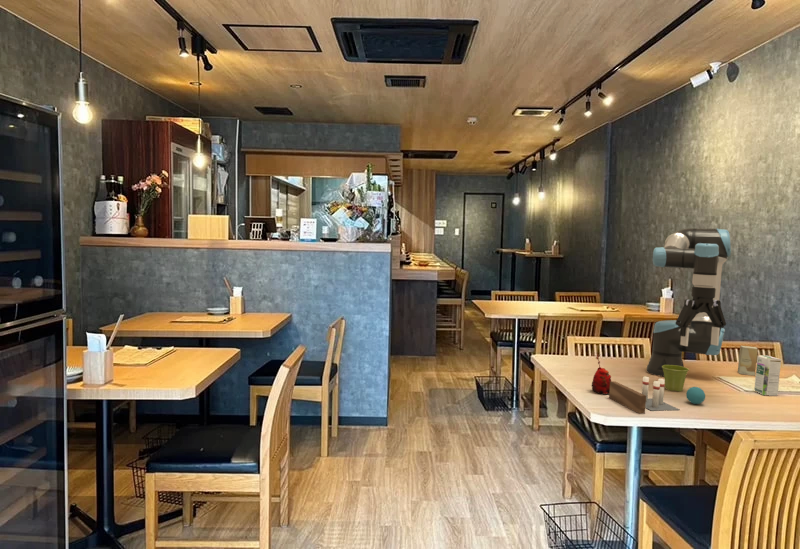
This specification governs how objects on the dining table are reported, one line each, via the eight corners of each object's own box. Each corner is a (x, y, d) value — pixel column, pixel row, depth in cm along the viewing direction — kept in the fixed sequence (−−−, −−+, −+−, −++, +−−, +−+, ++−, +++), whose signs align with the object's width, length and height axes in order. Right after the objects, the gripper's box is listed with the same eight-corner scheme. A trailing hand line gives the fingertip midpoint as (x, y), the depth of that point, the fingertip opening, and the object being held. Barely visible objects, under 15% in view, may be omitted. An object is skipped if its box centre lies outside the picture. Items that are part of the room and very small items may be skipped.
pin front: (660, 403, 197) (662, 378, 196) (664, 405, 195) (666, 380, 194) (655, 403, 196) (657, 378, 196) (659, 405, 194) (660, 380, 193)
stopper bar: (614, 397, 202) (615, 381, 201) (644, 413, 184) (646, 395, 184) (609, 397, 202) (610, 381, 201) (639, 413, 184) (640, 395, 183)
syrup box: (753, 391, 218) (756, 355, 217) (767, 391, 218) (770, 355, 217) (764, 395, 212) (767, 358, 211) (778, 396, 213) (781, 358, 212)
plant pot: (676, 394, 210) (678, 371, 210) (655, 387, 219) (656, 365, 218) (692, 391, 215) (694, 369, 214) (670, 385, 223) (672, 364, 222)
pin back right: (645, 401, 199) (646, 376, 198) (648, 403, 197) (650, 377, 196) (639, 401, 198) (641, 376, 198) (643, 403, 196) (645, 377, 196)
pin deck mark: (655, 398, 202) (655, 398, 202) (679, 410, 190) (680, 409, 190) (628, 399, 200) (628, 398, 200) (650, 410, 187) (651, 410, 187)
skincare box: (739, 374, 247) (741, 346, 246) (737, 372, 251) (739, 345, 251) (755, 376, 245) (758, 348, 244) (753, 373, 249) (756, 346, 248)
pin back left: (655, 406, 193) (657, 380, 192) (659, 408, 191) (661, 382, 190) (650, 406, 192) (652, 380, 192) (654, 408, 190) (656, 382, 190)
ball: (696, 401, 202) (697, 384, 201) (708, 406, 196) (709, 389, 195) (681, 401, 200) (683, 384, 200) (693, 406, 194) (694, 389, 194)
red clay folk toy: (611, 396, 204) (613, 355, 203) (591, 393, 206) (593, 353, 205) (611, 391, 211) (613, 351, 210) (591, 388, 213) (593, 349, 212)
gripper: (722, 286, 207) (718, 342, 208) (667, 285, 200) (663, 343, 201) (740, 288, 200) (735, 346, 201) (683, 286, 193) (678, 347, 194)
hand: (699, 345), depth 201 cm, fingers open, 13 cm apart
